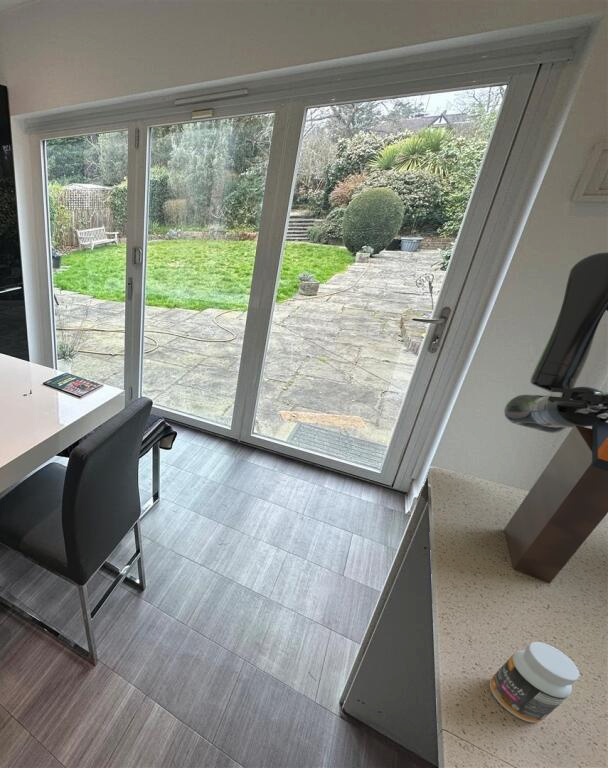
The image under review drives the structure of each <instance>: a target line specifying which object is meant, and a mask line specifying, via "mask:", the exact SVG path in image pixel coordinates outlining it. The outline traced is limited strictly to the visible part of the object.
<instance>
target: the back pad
mask: <svg viewBox="0 0 608 768" xmlns="http://www.w3.org/2000/svg"><path fill="white" fill-rule="evenodd" d="M591 429H592V466H594V467H597V468H600V469H603V470H606V471H608V422H607V421H606V422H604V421H600V420H596V421H595V423H594V424H593V425H592V426H591Z"/></svg>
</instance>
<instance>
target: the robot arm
mask: <svg viewBox="0 0 608 768" xmlns="http://www.w3.org/2000/svg"><path fill="white" fill-rule="evenodd" d="M606 312H608V251H606V252H604V251H603V252H597V253H594V254H590V255H587V256H586V257H584V258H581V259H580V260H579V261H577V262H576V263H575V264H574V265H573V267H572V268H571V269H570V270H569V272H568V275H567V280H566V285H565V290H564V295H563V299H562V303H561V307H560V310H559V313H558V316H557V318H556V321H555V324H554V326H553V329H552V331H551V333H550V336H549V338H548V340H546V343H545V346H544V348H543V350H542V352H541V354H540V356H539V359H538V361H537V363H536V365H535V367H534V369H533V372H532V373H531V376H530V378H529V383H530V385H532V386H534V387H536V388H537V389H541V390H544V391H546V392H548V393H549V394H548V395H540V394H519V395H517V396H514V397H512V398H511V399H510V400H508V401H507V403H506V404H505V405H504V408H503V414H504V417H505V419H506V420H507V421H508V422H509V423H512V424H514V425H518V426H521V427H525V428H529V429H533V430H537V431H541V432H544V433H549V434H557V433H560V432H562V431H564V430H566V429H567V428H568V429H569V428H571V429H572V428H573V427H574V425H578V426H582V427H586V428H588V427H592V425H593V424H594V423H595V421H596V420H600V421H604V422H607V421H608V392H604V391H602V390H600V389H597V388H594V387H590V386H589V387H588V386H576V385H577V382H578V380H579V379H580V376H581V375H582V373H583V370H584V368H585V366H586V363H587V362H588V359H589V356H590V353H591V350H592V347H593V343H594V341H595V340H594V339H595V336H596V334H597V330H598V328H599V325H600V323H601V320H602V318H603V317H604V314H605V313H606Z"/></svg>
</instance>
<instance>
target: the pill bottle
mask: <svg viewBox="0 0 608 768" xmlns="http://www.w3.org/2000/svg"><path fill="white" fill-rule="evenodd" d="M579 678H580V671H579V668H578V667H577V665H576V664H575V662H574V661H572V660H571V659H570V657H568V656H567V655H566V654H565V653H564V652H562V651H561V650H560V649H557V648H556V647H554V646H552V645H550V644H548V643H545V642H541V641H533V642H530V643H529V644H528V645H527V646H526V647H525V648H524V649H519V650H517V651H515V652H514V653H512V654H511V656H510V657H508V659H507V660H506V662H504V663H503V665H501V667H500V668H499V669H498V670H497V671H496V672H495V673H494V674H493V675H492V677H491V678H490V680H489V688H490V691H491V694H492V695H493V697H494V698H495V700H496V701H497V702H498V704H500V705H501V706H502V707H503V708H504V709H505V710H506V711H507V712H508V713H510V714H511V715H513V716H514V717H516V718H518V719H520V720H522V721H525V722H528V723H540V722H542V721H543V720H545V719H546V718H547V717H548V716H549V715H550V714H551V713H552V712H554V710H555V709H557V708H558V707H559V706H560V705H562V703H564V702H565V700H567V698H569V697H570V696H571V694H572V692H573V685H574V684H575V683H576V682H577V681H579Z"/></svg>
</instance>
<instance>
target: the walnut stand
mask: <svg viewBox="0 0 608 768" xmlns="http://www.w3.org/2000/svg"><path fill="white" fill-rule="evenodd" d="M607 515H608V471H606V470H603V469H600V468H597V467H594V466H592V428H590V427H582V426H578V425H574V427H573V428H571V429H570V431H569V432H568V434H567V435H566V437H565V438H564V440H563V441H562V443H560V446H559V447H558V449H557V450H556V452H555V453H554V454H553V456H552V458H551V459H550V460H549V462H548V464H547V465H546V467H545V468H544V469H543V471H542V472H541V474H540V475H539V477H538V478H537V480H536V481H535V483H534V484H533V485H532V487H531V488H530V490H529V492H528V493H527V494H526V496H525V497H524V499H523V500H522V502H521V503H520V505H519V506H518V507H517V509H516V510H515V512H514V514H513V515H512V516H511V518H510V520H509V521H508V522H507V524H506V526H505V527H504V529H503V531H504V535H505V540H506V543H507V548H508V552H509V556H510V560H511V565H512V569H513V570H515V571H517V572H520V573H523V574H525V575H528V576H529V577H531V578H532V577H533V578H535V579H538V580H540V581H543V582H546V583H548V584H551V583H552V582H553V580H554V579H555V578H556V577H557V576H558V575H559V573H560V572H561V571H562V569H563V568H564V567H565V566H566V565H567V563H568V562H569V561H570V560H571V558H572V557H573V556H574V555H575V554H576V552H577V551H578V550H580V549H579V548H580V547H581V546H582V545H583V544H584V543H585V541H587V539H588V538H589V536H591V534H592V533H593V531H594V530H595V529H596V528H597V527H598V525H599V524H600V523H601V522H602V521H603V519H604V518H605V517H606V516H607Z"/></svg>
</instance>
